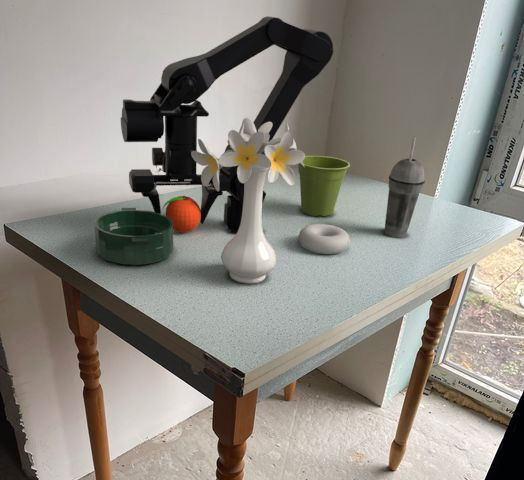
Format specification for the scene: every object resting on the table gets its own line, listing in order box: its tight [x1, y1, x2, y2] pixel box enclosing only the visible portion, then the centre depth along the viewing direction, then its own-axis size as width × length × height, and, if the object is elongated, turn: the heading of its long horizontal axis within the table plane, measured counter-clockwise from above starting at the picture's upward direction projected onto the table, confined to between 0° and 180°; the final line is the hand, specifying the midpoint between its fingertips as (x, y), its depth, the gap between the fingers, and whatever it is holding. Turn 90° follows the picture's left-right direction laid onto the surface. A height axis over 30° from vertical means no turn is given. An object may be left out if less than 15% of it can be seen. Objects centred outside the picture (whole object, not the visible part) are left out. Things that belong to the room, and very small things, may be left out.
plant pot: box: [297, 155, 351, 217], centre depth 125 cm, size 12×12×11 cm
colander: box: [93, 209, 174, 266], centre depth 99 cm, size 13×13×6 cm
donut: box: [298, 223, 351, 255], centre depth 109 cm, size 10×4×10 cm
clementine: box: [161, 195, 201, 233], centre depth 109 cm, size 8×7×7 cm
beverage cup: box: [384, 136, 426, 238], centre depth 114 cm, size 7×7×20 cm
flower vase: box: [191, 117, 306, 285], centre depth 88 cm, size 13×18×25 cm
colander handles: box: [121, 207, 149, 245], centre depth 98 cm, size 3×17×1 cm, turn 18°
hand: (181, 224), depth 110 cm, fingers closed on clementine, 8 cm apart
